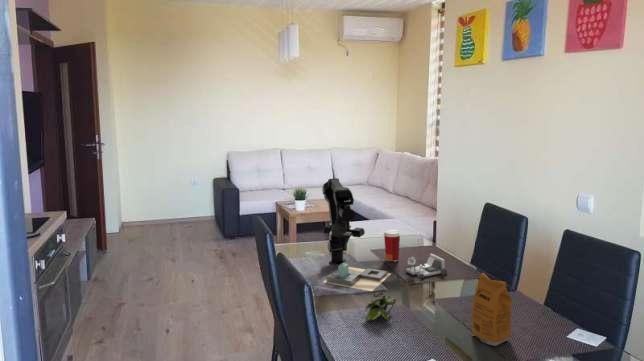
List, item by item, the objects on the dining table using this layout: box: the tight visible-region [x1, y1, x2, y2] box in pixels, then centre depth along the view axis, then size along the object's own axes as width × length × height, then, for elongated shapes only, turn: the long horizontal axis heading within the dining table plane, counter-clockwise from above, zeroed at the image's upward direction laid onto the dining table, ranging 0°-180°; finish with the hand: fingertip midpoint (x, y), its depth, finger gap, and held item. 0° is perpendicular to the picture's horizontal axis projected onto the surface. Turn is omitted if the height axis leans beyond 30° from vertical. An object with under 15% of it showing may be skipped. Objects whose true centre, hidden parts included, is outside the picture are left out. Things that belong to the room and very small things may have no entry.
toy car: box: [404, 253, 448, 279], centre depth 235 cm, size 18×10×12 cm
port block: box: [326, 269, 361, 286], centre depth 229 cm, size 10×12×2 cm
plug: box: [337, 262, 349, 278], centre depth 229 cm, size 4×3×7 cm
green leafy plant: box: [364, 292, 397, 321], centre depth 192 cm, size 11×11×12 cm
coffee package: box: [471, 272, 513, 342], centre depth 173 cm, size 10×12×22 cm
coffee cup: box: [382, 229, 401, 261], centre depth 252 cm, size 8×8×15 cm
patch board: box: [322, 266, 392, 292], centre depth 231 cm, size 22×24×1 cm
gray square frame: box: [361, 267, 389, 281], centre depth 233 cm, size 9×10×1 cm
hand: (344, 248), depth 237 cm, fingers closed
